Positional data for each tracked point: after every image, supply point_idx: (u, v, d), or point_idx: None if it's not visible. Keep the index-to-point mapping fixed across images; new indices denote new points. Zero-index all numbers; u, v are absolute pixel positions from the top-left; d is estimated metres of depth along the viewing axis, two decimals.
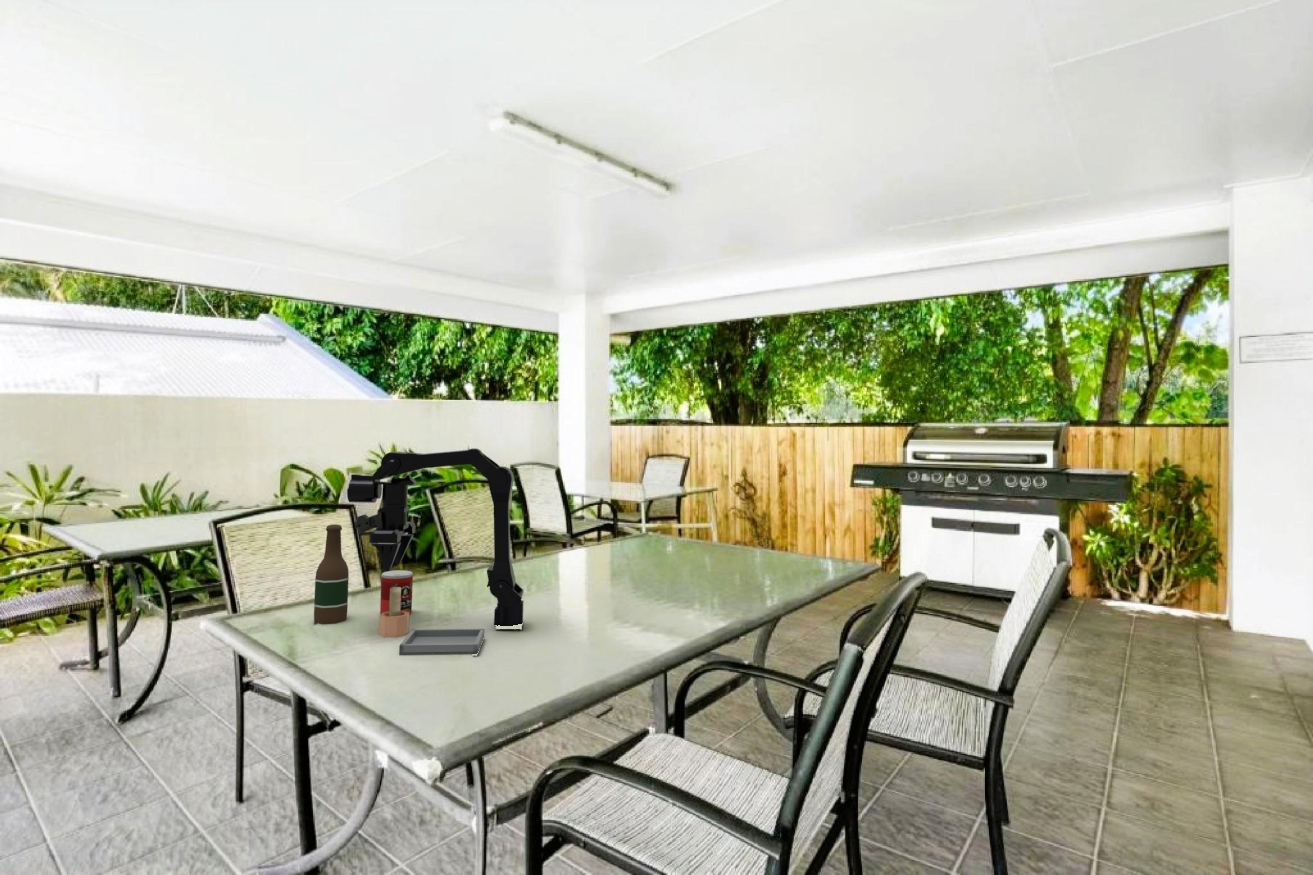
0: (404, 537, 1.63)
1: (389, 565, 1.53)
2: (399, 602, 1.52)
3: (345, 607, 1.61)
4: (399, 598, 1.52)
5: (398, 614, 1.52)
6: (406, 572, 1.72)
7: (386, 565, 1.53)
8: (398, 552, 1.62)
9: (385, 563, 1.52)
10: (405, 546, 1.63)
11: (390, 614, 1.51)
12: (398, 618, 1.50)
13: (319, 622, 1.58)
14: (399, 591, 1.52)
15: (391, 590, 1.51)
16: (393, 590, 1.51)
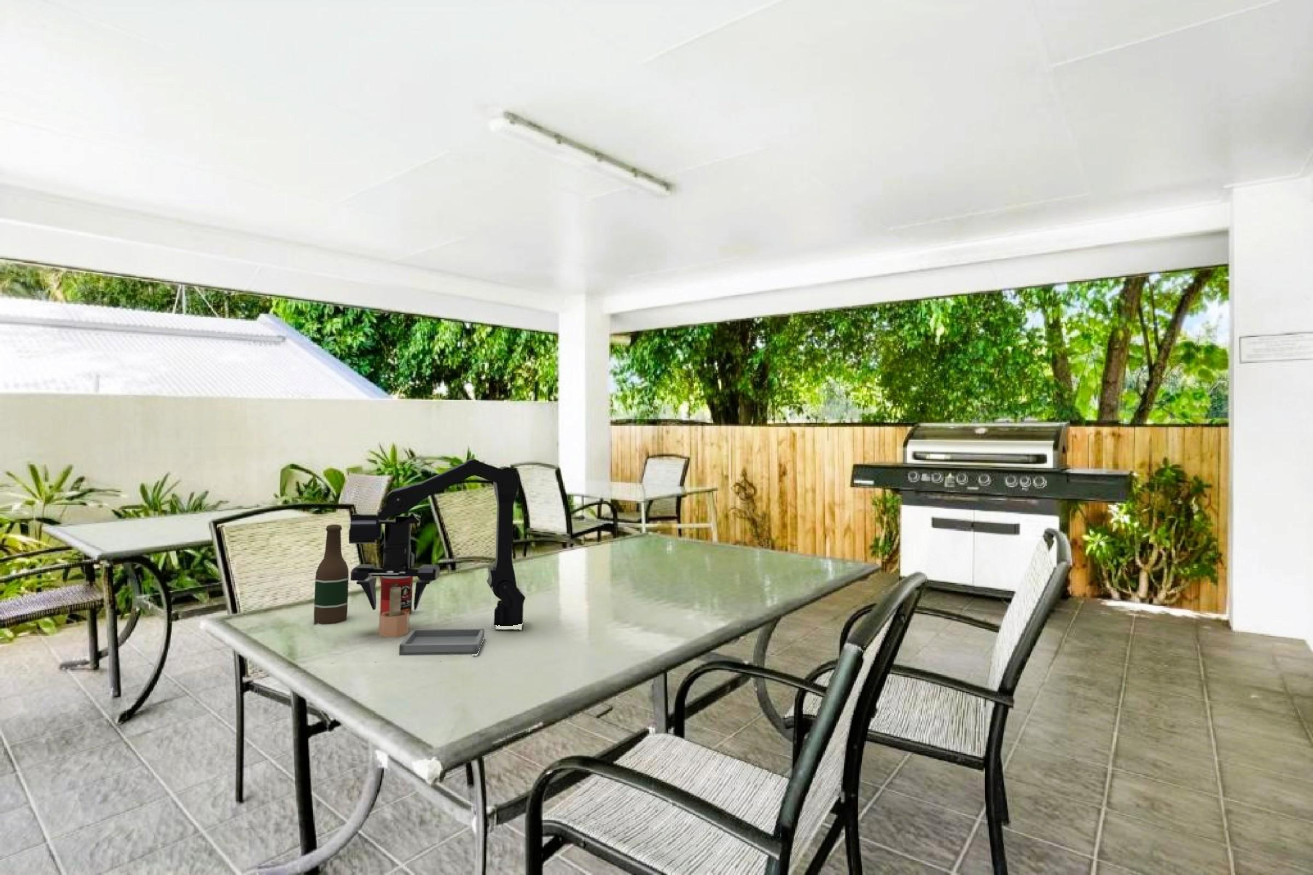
0: (417, 582, 1.51)
1: None
2: (399, 602, 1.52)
3: (345, 607, 1.61)
4: (399, 598, 1.52)
5: (398, 614, 1.52)
6: None
7: None
8: None
9: None
10: (415, 592, 1.51)
11: (390, 614, 1.51)
12: (398, 618, 1.50)
13: (319, 622, 1.58)
14: (399, 591, 1.52)
15: (391, 590, 1.51)
16: (393, 590, 1.51)
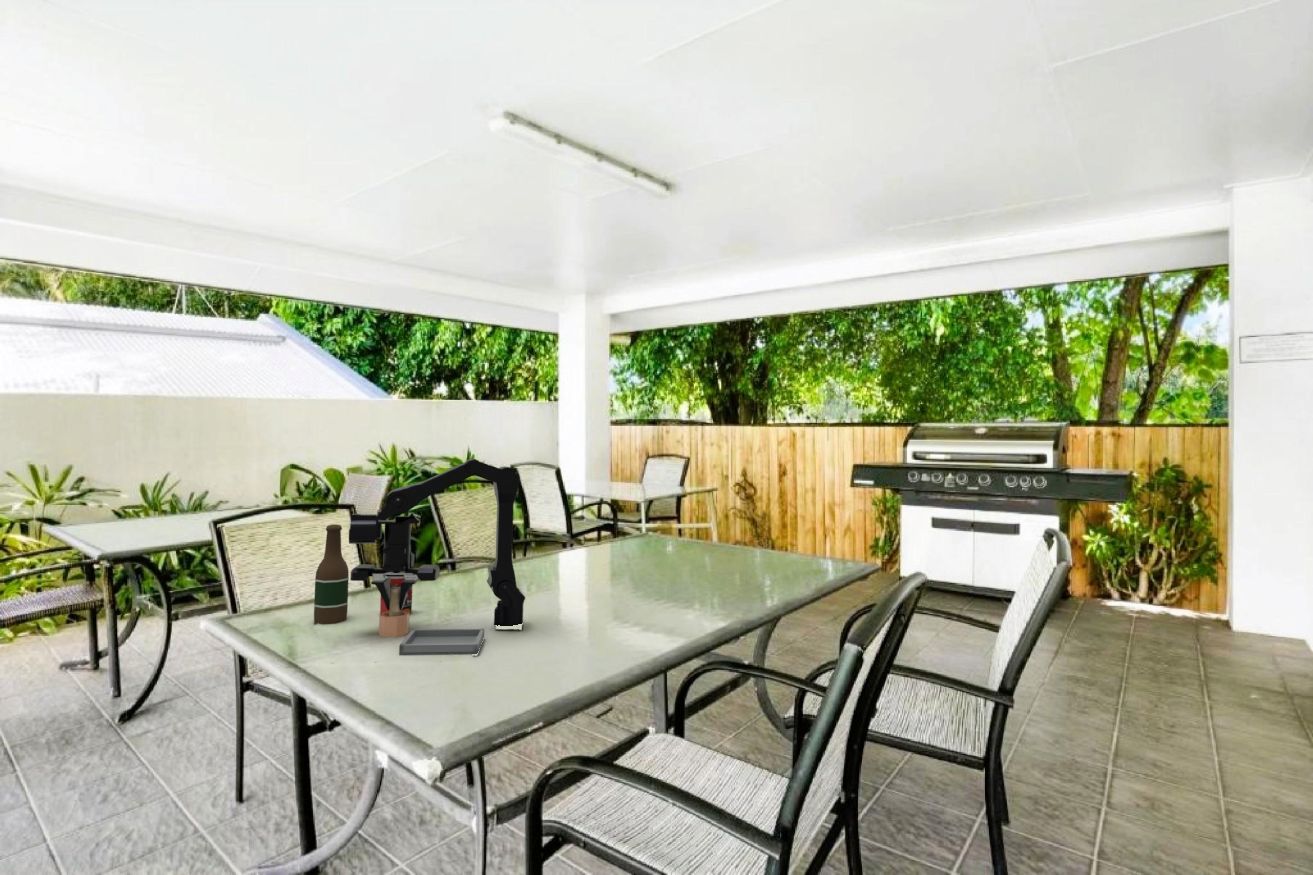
0: None
1: None
2: None
3: (345, 607, 1.61)
4: (399, 598, 1.52)
5: (398, 614, 1.52)
6: None
7: None
8: None
9: None
10: (400, 592, 1.50)
11: (390, 614, 1.51)
12: (398, 618, 1.50)
13: (319, 622, 1.58)
14: (399, 591, 1.52)
15: (391, 590, 1.51)
16: (393, 590, 1.51)
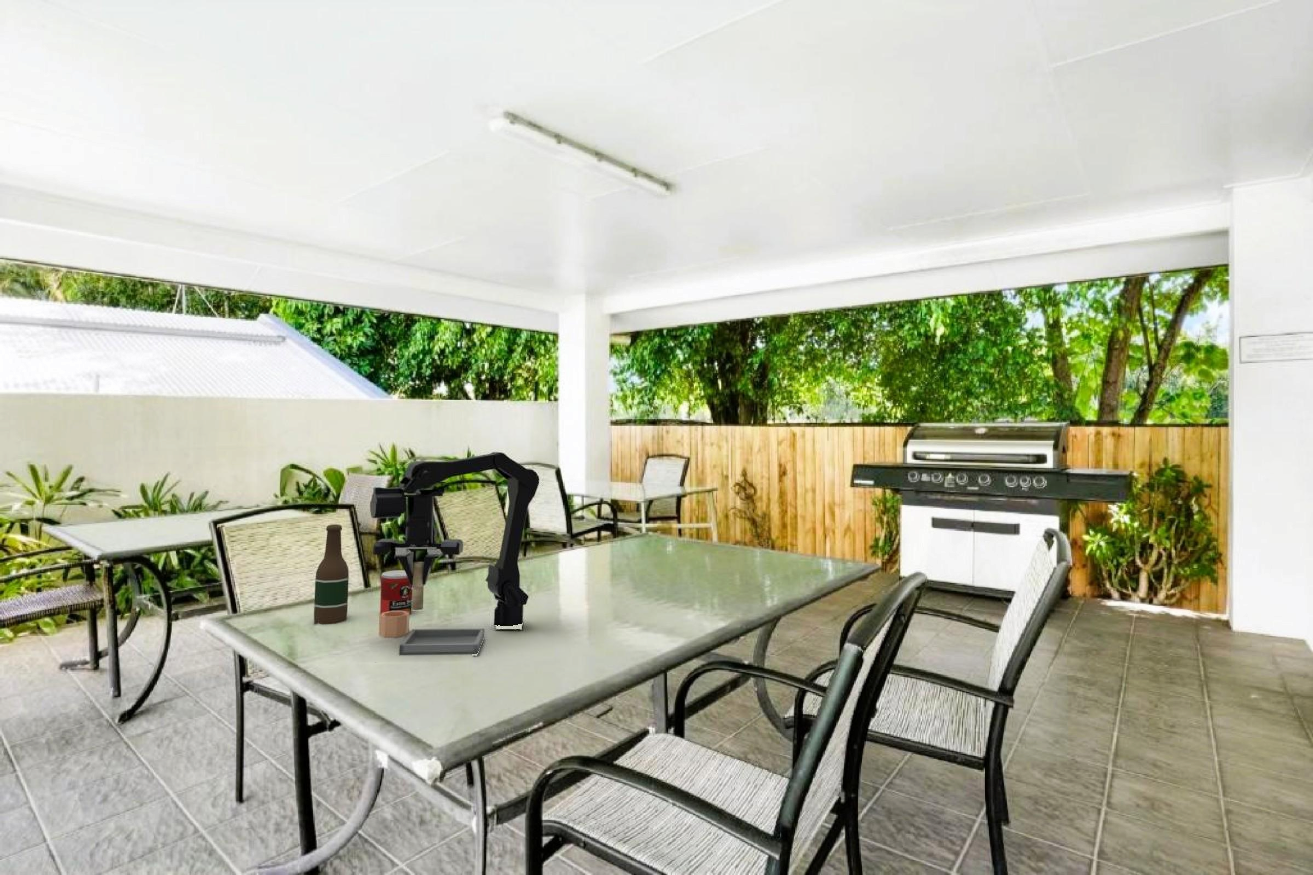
0: None
1: None
2: (422, 577, 1.48)
3: (345, 607, 1.61)
4: (422, 573, 1.48)
5: (421, 589, 1.48)
6: None
7: None
8: None
9: None
10: None
11: (413, 589, 1.48)
12: (398, 618, 1.50)
13: (319, 622, 1.58)
14: (422, 566, 1.48)
15: (414, 565, 1.48)
16: (416, 564, 1.47)
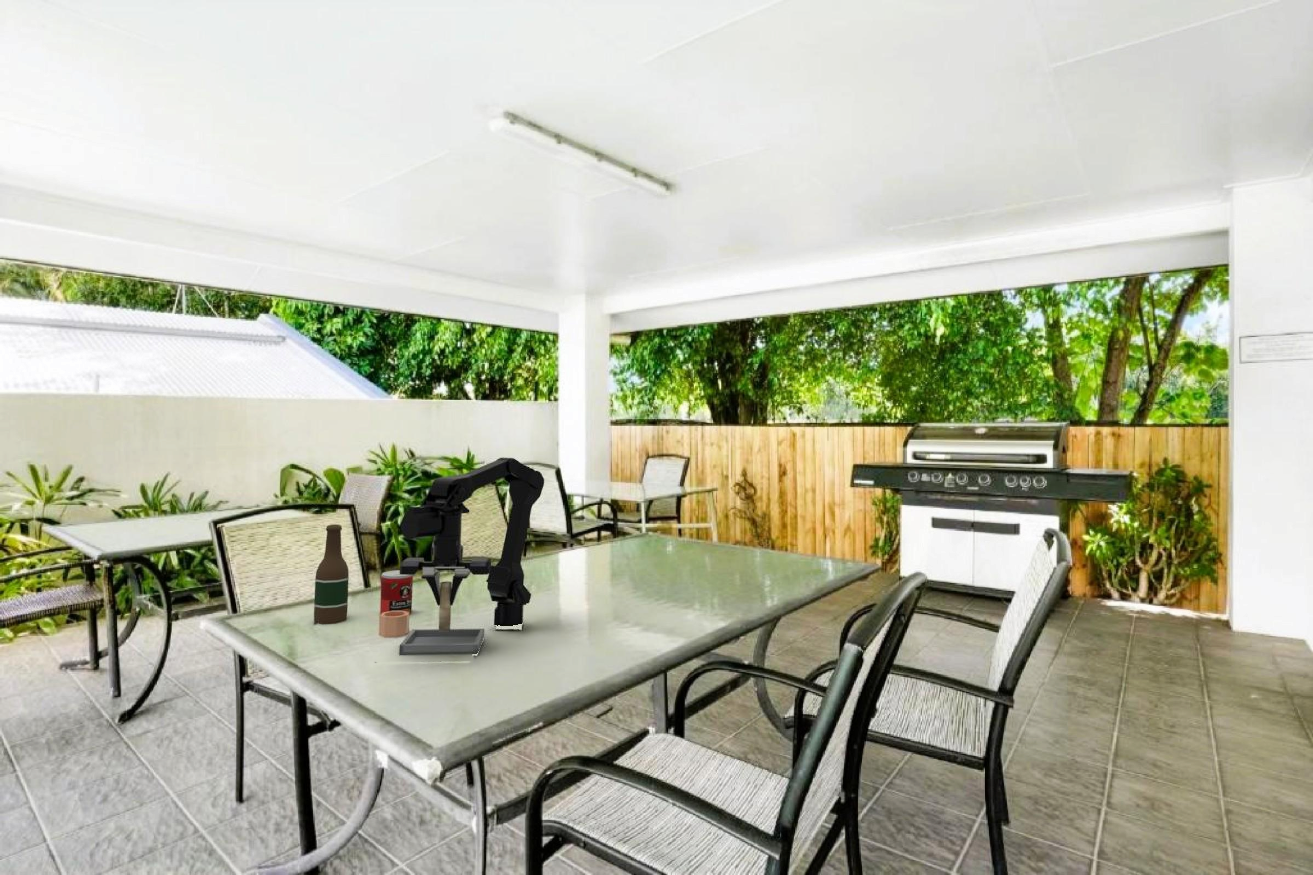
0: None
1: None
2: None
3: (345, 607, 1.61)
4: (450, 593, 1.44)
5: (449, 610, 1.43)
6: None
7: None
8: None
9: None
10: None
11: (441, 610, 1.43)
12: (398, 618, 1.50)
13: (319, 622, 1.58)
14: (450, 586, 1.44)
15: (442, 584, 1.43)
16: (444, 584, 1.43)
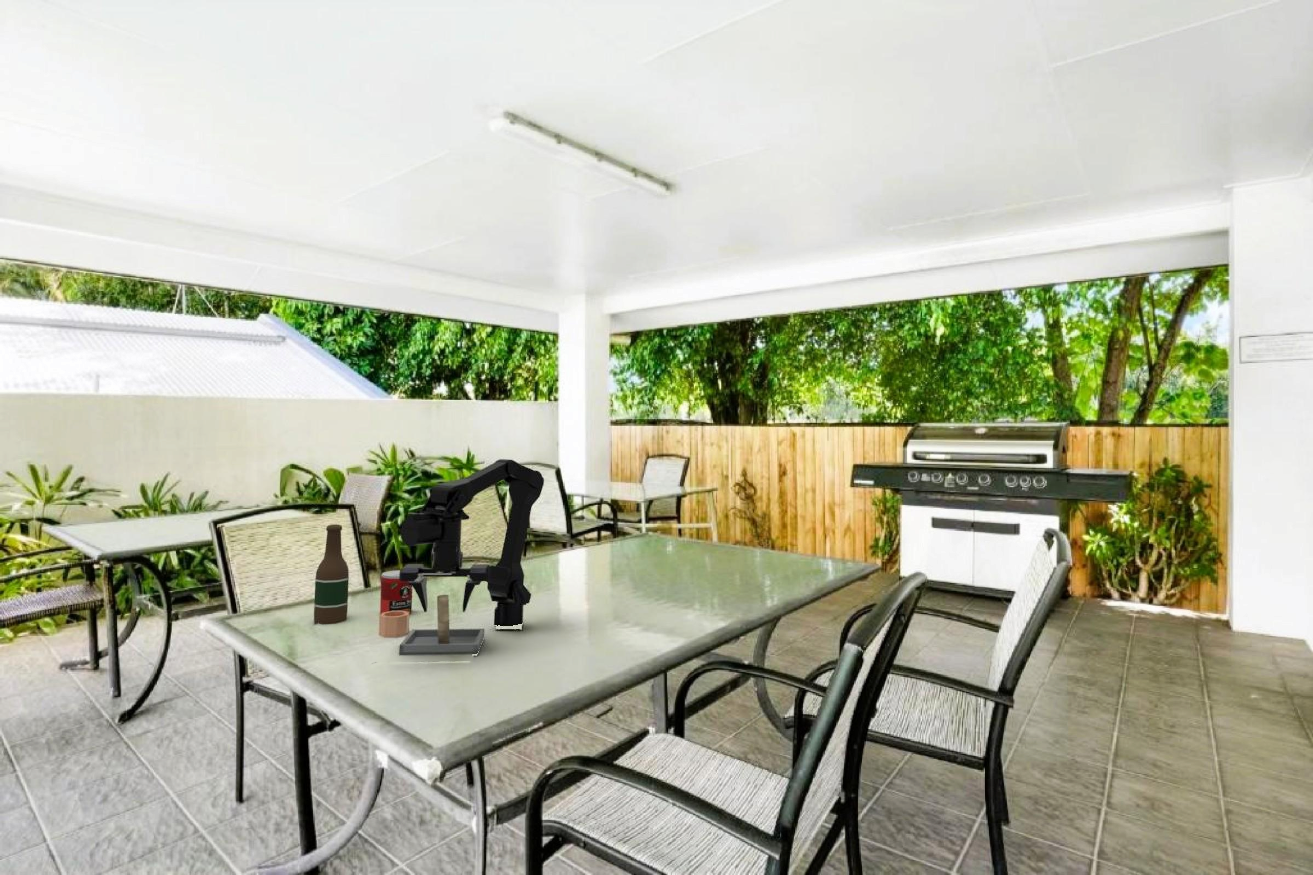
0: None
1: None
2: (447, 611, 1.43)
3: (345, 607, 1.61)
4: (447, 606, 1.43)
5: (447, 623, 1.43)
6: None
7: None
8: None
9: None
10: (464, 593, 1.43)
11: (439, 624, 1.43)
12: (398, 618, 1.50)
13: (319, 622, 1.58)
14: (447, 599, 1.43)
15: (438, 599, 1.42)
16: (441, 599, 1.42)
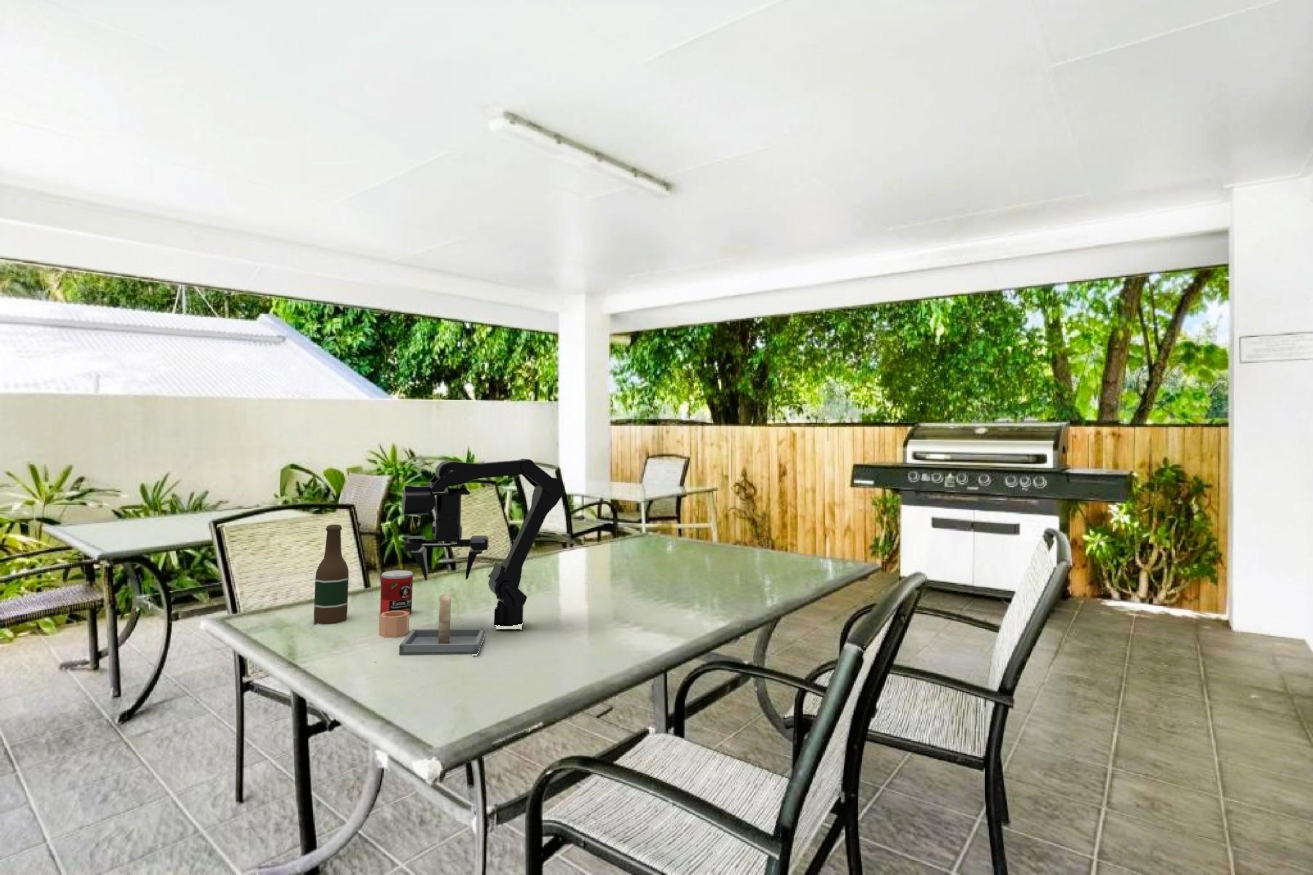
0: (469, 552, 1.54)
1: (423, 574, 1.53)
2: (449, 610, 1.44)
3: (345, 607, 1.61)
4: (449, 606, 1.44)
5: (448, 623, 1.43)
6: (406, 572, 1.72)
7: None
8: None
9: None
10: (467, 562, 1.54)
11: (440, 623, 1.43)
12: (398, 618, 1.50)
13: (319, 622, 1.58)
14: (449, 599, 1.44)
15: (441, 598, 1.43)
16: (443, 598, 1.43)
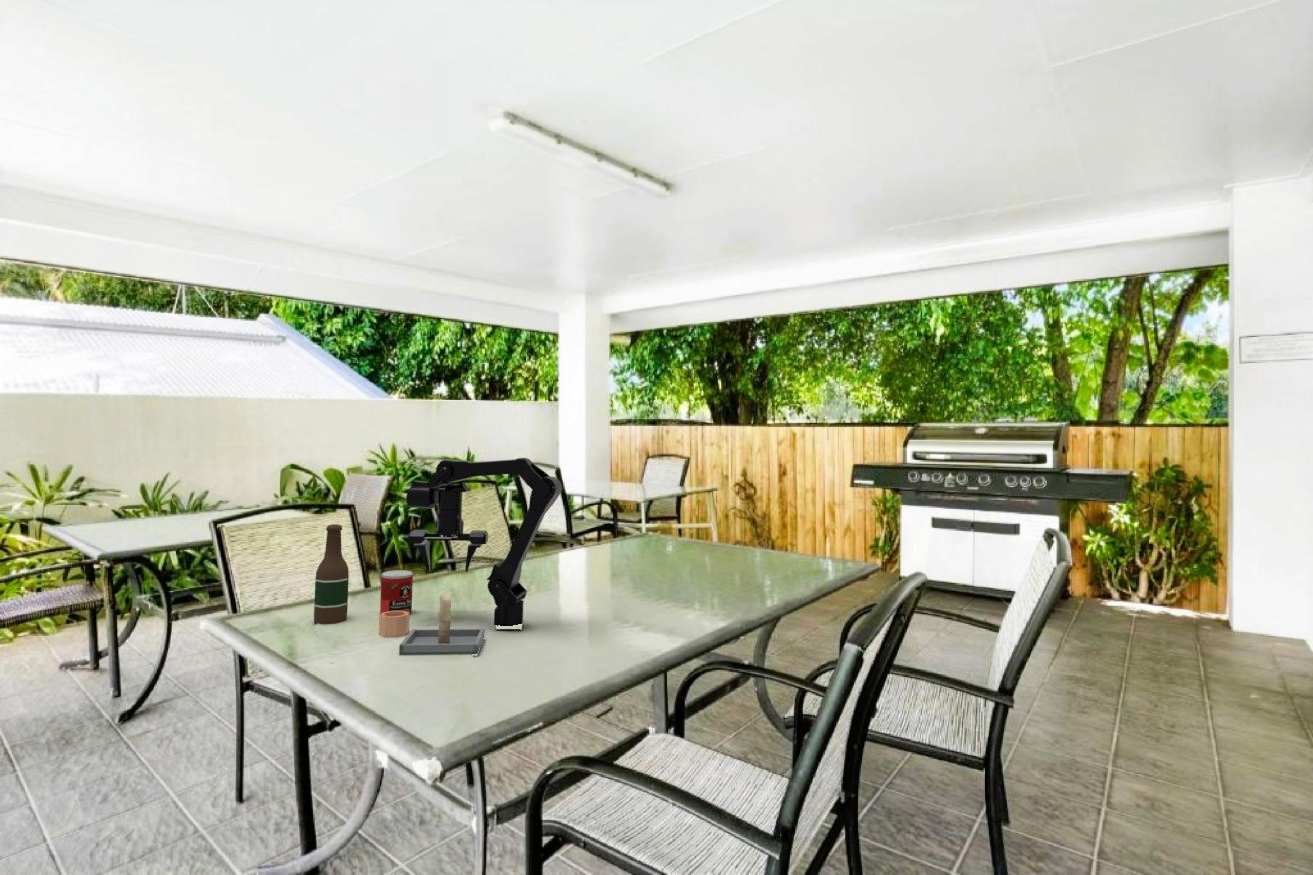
0: None
1: None
2: (449, 610, 1.44)
3: (345, 607, 1.61)
4: (449, 606, 1.44)
5: (448, 623, 1.43)
6: (406, 572, 1.72)
7: None
8: None
9: None
10: None
11: (440, 623, 1.43)
12: (398, 618, 1.50)
13: (319, 622, 1.58)
14: (449, 599, 1.44)
15: (441, 598, 1.43)
16: (443, 598, 1.43)
